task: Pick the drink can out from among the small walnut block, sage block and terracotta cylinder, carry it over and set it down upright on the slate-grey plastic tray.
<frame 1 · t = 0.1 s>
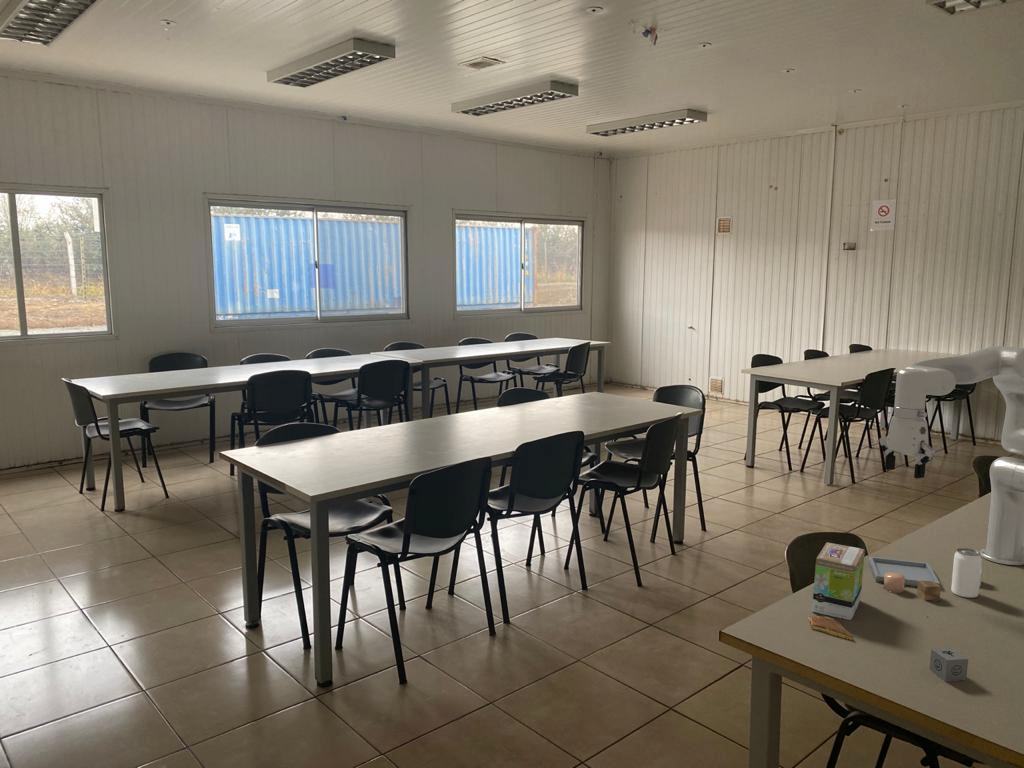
hand: (904, 473, 214), 31 cm above the table, tool pointing down, fingers open, 9 cm apart
tea box: (836, 607, 200), on the table
terracotta cylinder: (893, 589, 211), on the table
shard: (832, 630, 188), on the table
can: (964, 594, 209), on the table
dice cube: (947, 676, 166), on the table
sage block: (967, 581, 217), on the table
walnut block: (928, 597, 206), on the table
tray: (902, 575, 221), on the table
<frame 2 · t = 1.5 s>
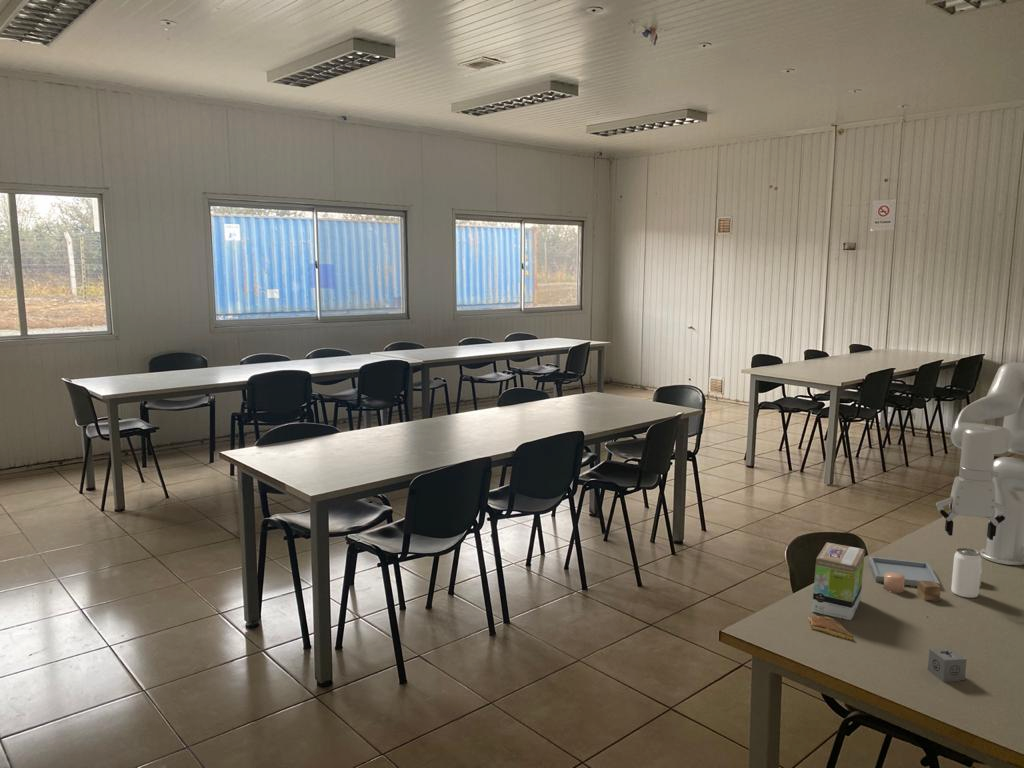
hand: (969, 536, 206), 16 cm above the table, tool pointing down, fingers open, 9 cm apart
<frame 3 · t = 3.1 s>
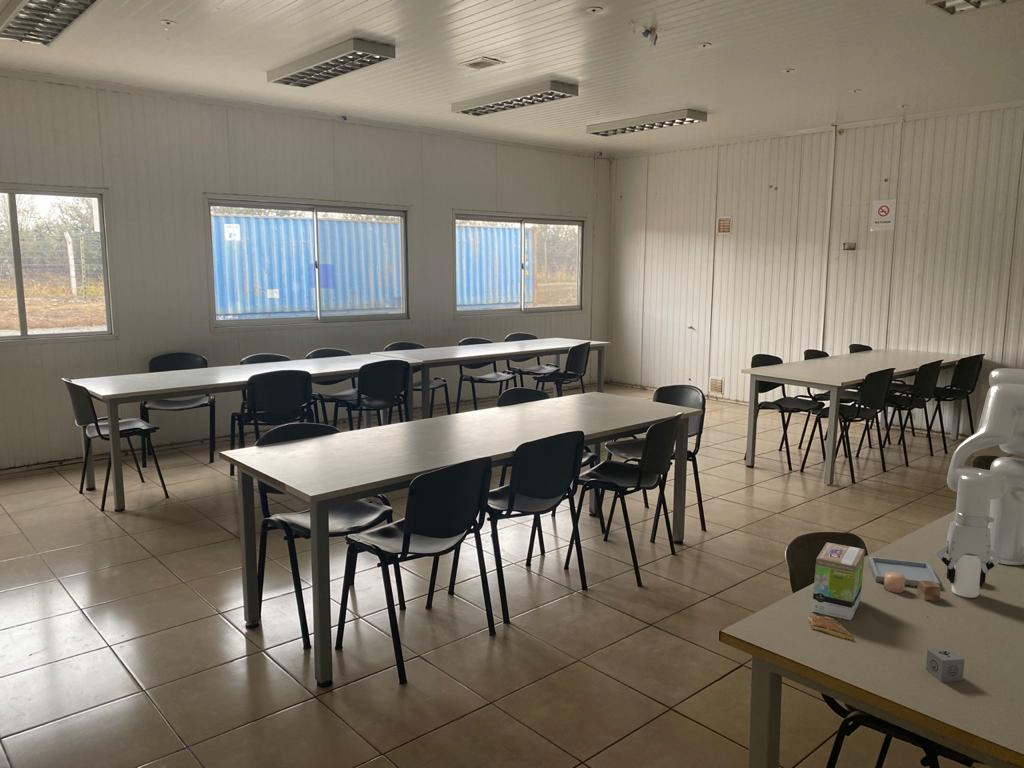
hand: (965, 582, 208), 3 cm above the table, tool pointing down, fingers closed on can, 6 cm apart
can: (964, 594, 209), on the table, touching gripper
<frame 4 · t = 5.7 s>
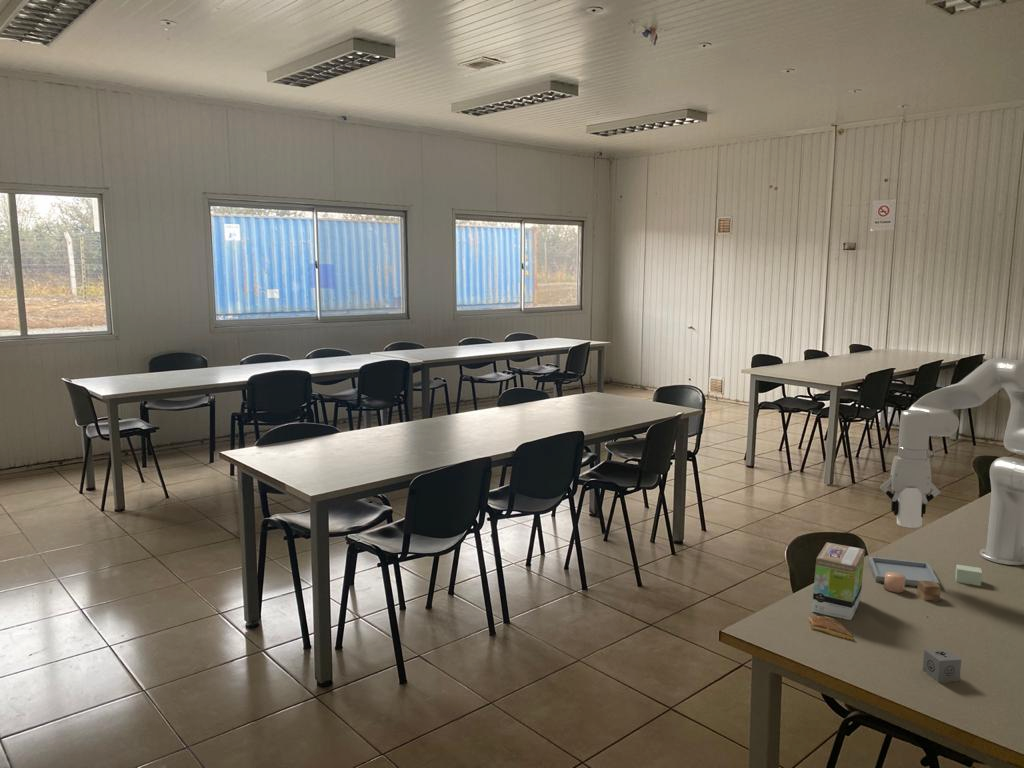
hand: (907, 514, 219), 18 cm above the table, tool pointing down, fingers closed on can, 5 cm apart
can: (909, 525, 219), point 15 cm above the table, touching gripper
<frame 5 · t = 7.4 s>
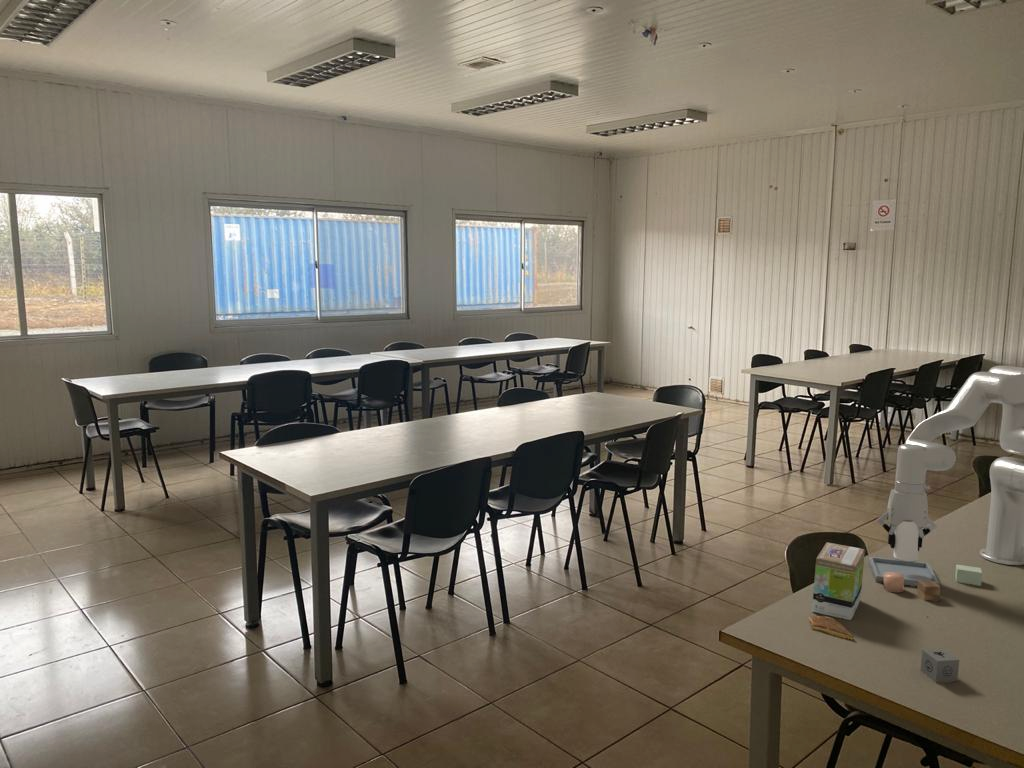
hand: (904, 547, 220), 8 cm above the table, tool pointing down, fingers closed on can, 5 cm apart
can: (905, 559, 221), point 5 cm above the table, touching gripper
when the fingers open (5 cm above the table, at t = 8.4 s): can drops 1 cm, point 1 cm above the table.
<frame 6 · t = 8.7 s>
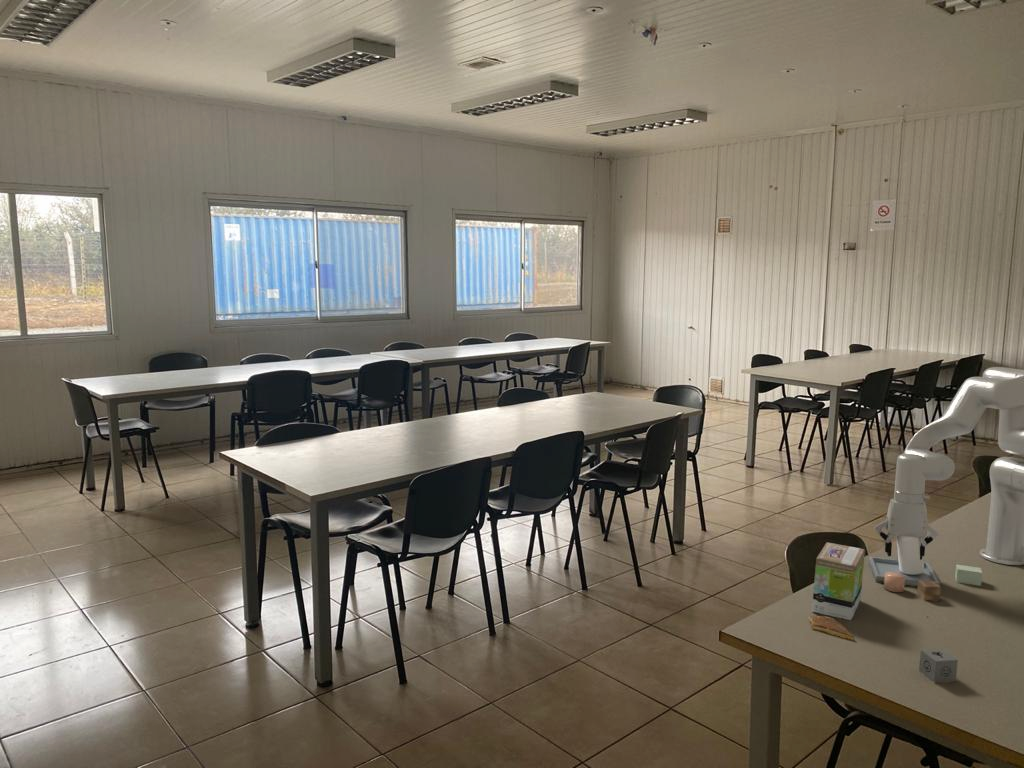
hand: (904, 556, 221), 6 cm above the table, tool pointing down, fingers open, 7 cm apart
can: (911, 572, 222), point 1 cm above the table, touching gripper
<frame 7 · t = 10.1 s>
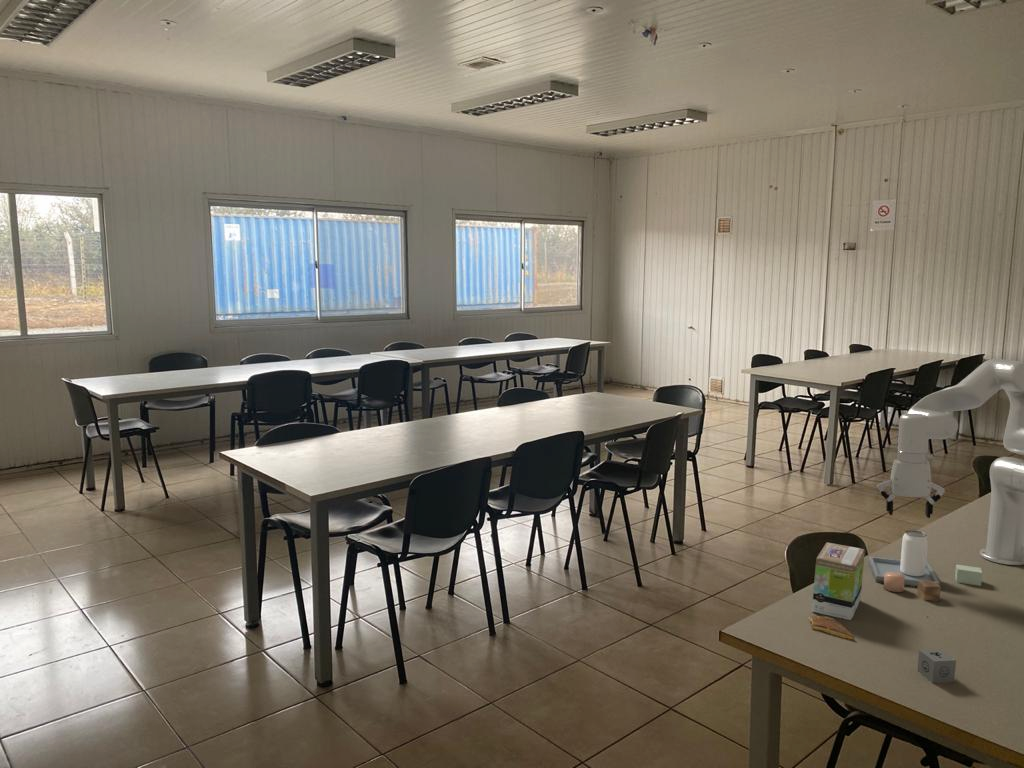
hand: (908, 515, 219), 18 cm above the table, tool pointing down, fingers open, 9 cm apart
can: (912, 573, 222), resting on tray
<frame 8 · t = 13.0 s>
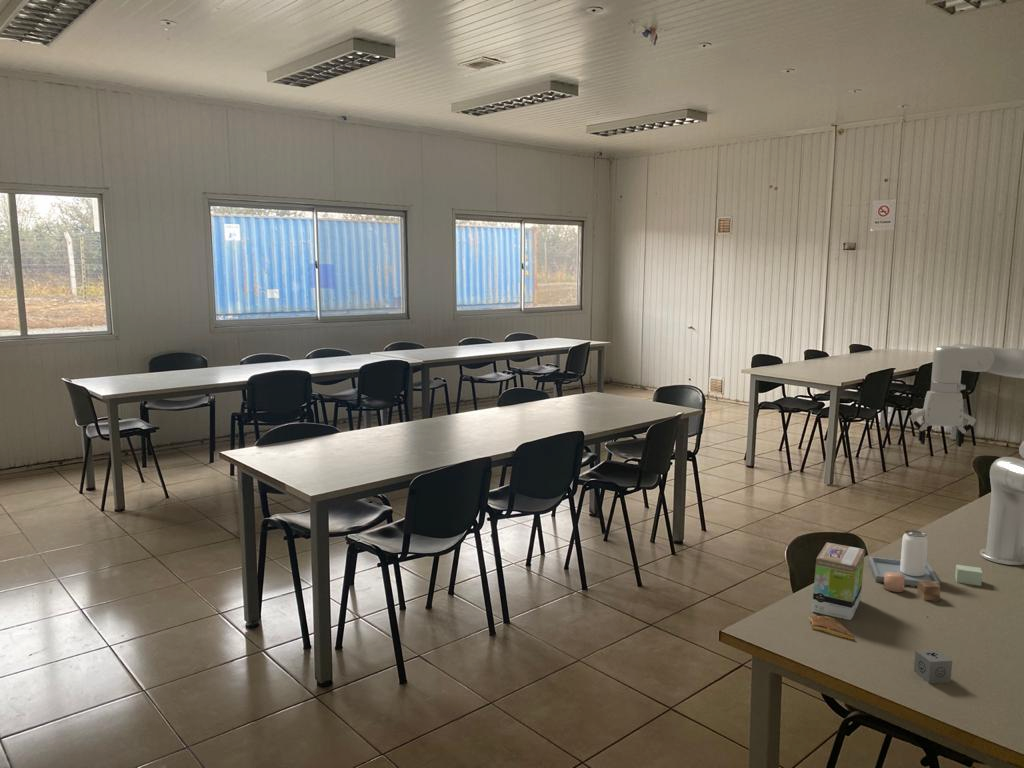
hand: (940, 444, 227), 36 cm above the table, tool pointing down, fingers open, 9 cm apart
at the end: can inside the target area on the tray (2.9 cm from its centre), point 0.4 cm above the tray's base; can tilted 0°; the gripper is holding nothing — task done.
